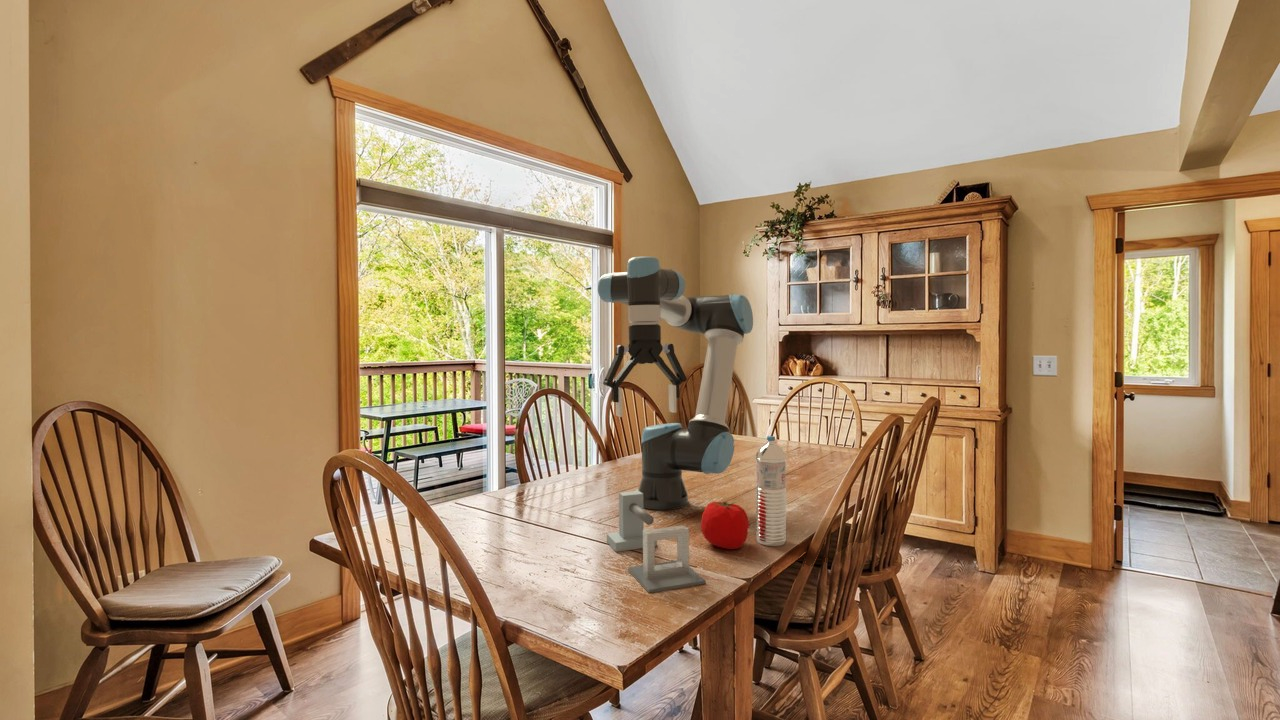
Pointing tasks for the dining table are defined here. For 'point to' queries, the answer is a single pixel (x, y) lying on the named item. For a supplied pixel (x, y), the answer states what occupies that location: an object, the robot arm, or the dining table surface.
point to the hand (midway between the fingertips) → (646, 414)
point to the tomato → (725, 525)
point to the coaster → (666, 579)
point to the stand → (630, 522)
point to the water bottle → (771, 494)
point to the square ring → (649, 556)
